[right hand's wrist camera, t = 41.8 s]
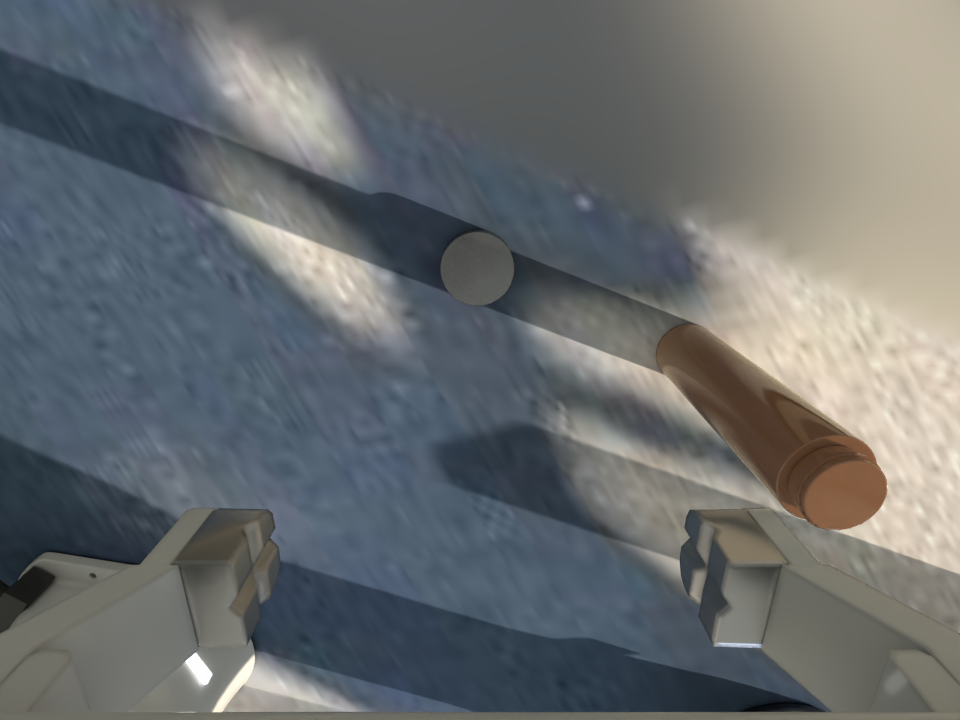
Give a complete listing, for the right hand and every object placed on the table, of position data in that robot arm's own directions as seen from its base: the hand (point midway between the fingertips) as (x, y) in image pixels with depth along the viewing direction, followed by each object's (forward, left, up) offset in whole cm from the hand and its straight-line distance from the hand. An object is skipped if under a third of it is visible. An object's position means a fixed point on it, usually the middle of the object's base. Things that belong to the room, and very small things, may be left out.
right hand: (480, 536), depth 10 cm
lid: (0, 0, -29) cm, 29 cm away
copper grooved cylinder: (+17, 0, -30) cm, 35 cm away
